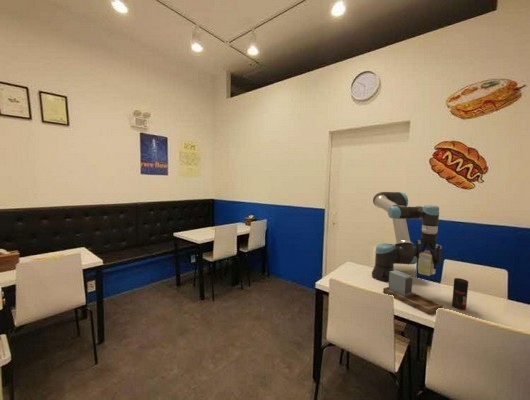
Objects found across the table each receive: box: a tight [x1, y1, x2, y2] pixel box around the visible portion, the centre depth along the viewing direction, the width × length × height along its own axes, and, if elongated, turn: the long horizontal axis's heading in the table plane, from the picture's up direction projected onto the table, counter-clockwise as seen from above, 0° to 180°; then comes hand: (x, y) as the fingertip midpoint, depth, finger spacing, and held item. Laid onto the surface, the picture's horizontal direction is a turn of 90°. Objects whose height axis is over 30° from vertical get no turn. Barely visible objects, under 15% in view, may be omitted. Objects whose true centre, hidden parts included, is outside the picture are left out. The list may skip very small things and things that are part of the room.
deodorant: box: [451, 277, 469, 311], centre depth 132 cm, size 6×6×15 cm
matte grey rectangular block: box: [388, 269, 413, 296], centre depth 144 cm, size 11×6×12 cm, turn 26°
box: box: [417, 249, 433, 277], centre depth 142 cm, size 10×6×12 cm, turn 134°
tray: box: [382, 286, 444, 316], centre depth 139 cm, size 27×11×3 cm, turn 26°
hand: (426, 271), depth 143 cm, fingers closed on box, 7 cm apart
